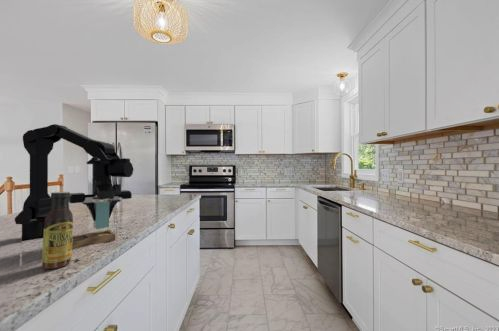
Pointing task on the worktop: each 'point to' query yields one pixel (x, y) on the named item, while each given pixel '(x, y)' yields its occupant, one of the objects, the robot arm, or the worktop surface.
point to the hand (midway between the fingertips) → (101, 219)
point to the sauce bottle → (58, 233)
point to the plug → (101, 215)
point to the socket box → (92, 238)
